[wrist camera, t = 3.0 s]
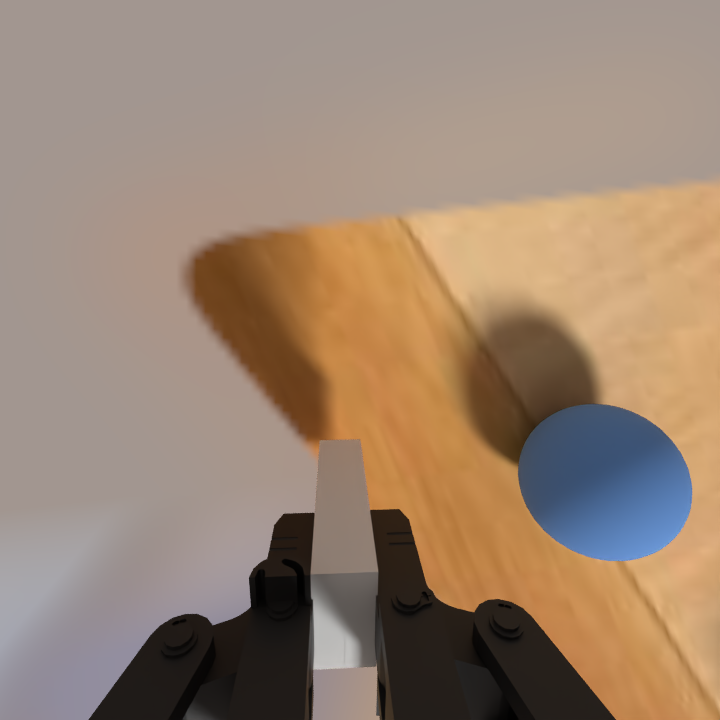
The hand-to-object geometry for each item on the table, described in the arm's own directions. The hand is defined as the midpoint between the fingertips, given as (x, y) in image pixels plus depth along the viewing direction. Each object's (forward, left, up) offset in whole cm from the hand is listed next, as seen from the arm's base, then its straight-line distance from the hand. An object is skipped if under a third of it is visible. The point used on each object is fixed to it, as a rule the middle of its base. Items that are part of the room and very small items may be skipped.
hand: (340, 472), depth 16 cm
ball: (-10, 0, +1) cm, 10 cm away
